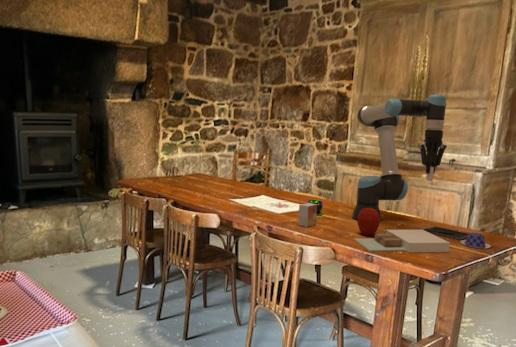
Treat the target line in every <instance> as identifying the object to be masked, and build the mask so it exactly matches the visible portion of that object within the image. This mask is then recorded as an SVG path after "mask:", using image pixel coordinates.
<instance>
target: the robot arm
mask: <svg viewBox="0 0 516 347" xmlns="http://www.w3.org/2000/svg"><path fill="white" fill-rule="evenodd" d="M446 107H447V97H446V95H444V94H430V95H429V96H428V98H427V100H426V99H425V100H421V99H419V100H418V99H401V98H390V99H388V100H387V101H386V102H383V103H380V104H378V105H377V104H376V105H366V106H365V105H364V106H362V107H361V108H359V110H358V112H357V115H356V117H357V120H358V122H359V123H360V124H361V125H362V126H365V127H373V128H374V132H375V133H376V134H377V138H378V147H379V155H380V166H381V174H380V176H379V175H366V176H362V177H359V179H358V181H357V192H356V205H355V207H354V209H353V212H352V216H351V217H352V219H353V220H355V221H358V214H359V212H360V211H361V210H362V209H364V208H369V206H370V208H373V209H375V210H376V211H377V212H378V214H379V217H380V222H382V221H381V220H382V215H381V210H380V206H379V204H380V201H394V202H395V201H401V200H404V198H406V195H407V193H408V190H409V186H408V182H407V180H406V179H404V178H403V175H402V173H400V172H399V166H398V158H397V149H396V142H395V141H396V140H395V133H394V132H395V130H397V127H398V126H399V124H400V116H403V117H405V116H407V117H417V118H423V117H425V118H426V120H425V128H424V129H425V130H424V140H423V142H422V143H421V144H420V143H419V144H418V148H419V149H420V150H419V151H420V157H421V164H422V165H423V166H424V167H425V174H426V178H425V179H426V181H427V182H433V179H434V174H435V173H436V168H437V167H438V166H440V165H441V162H442V159H443V156H444V153H445V150H446V149H447V147H448V146H447V145H446V144H445V143H443V138H444V130H443V129H444V126H445V125H444V124H445V116H446V109H447V108H446Z"/></svg>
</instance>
